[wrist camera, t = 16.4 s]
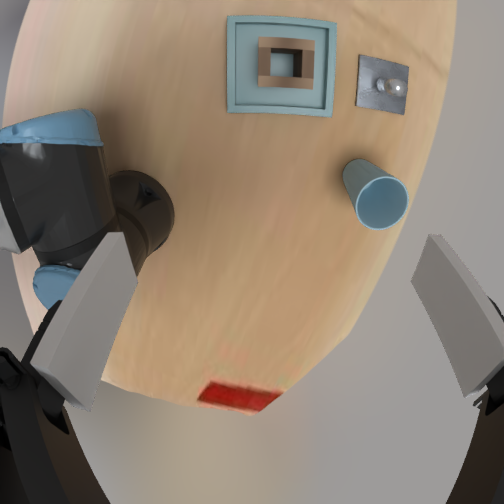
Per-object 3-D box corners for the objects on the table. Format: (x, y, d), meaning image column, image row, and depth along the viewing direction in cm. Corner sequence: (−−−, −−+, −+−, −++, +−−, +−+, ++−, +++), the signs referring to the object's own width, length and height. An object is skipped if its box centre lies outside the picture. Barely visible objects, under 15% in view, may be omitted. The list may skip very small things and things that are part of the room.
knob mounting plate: (355, 105, 35) (369, 111, 30) (358, 54, 30) (374, 53, 25) (402, 114, 35) (420, 122, 30) (407, 66, 30) (426, 68, 25)
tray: (229, 110, 36) (227, 112, 34) (229, 19, 28) (227, 15, 26) (328, 115, 36) (331, 117, 34) (332, 25, 28) (336, 23, 26)
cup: (346, 144, 38) (370, 168, 30) (387, 161, 40) (418, 188, 31) (328, 188, 43) (346, 221, 34) (369, 201, 44) (393, 235, 35)
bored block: (257, 84, 33) (258, 86, 27) (258, 44, 30) (258, 36, 23) (302, 86, 33) (313, 89, 27) (303, 46, 30) (314, 40, 23)
